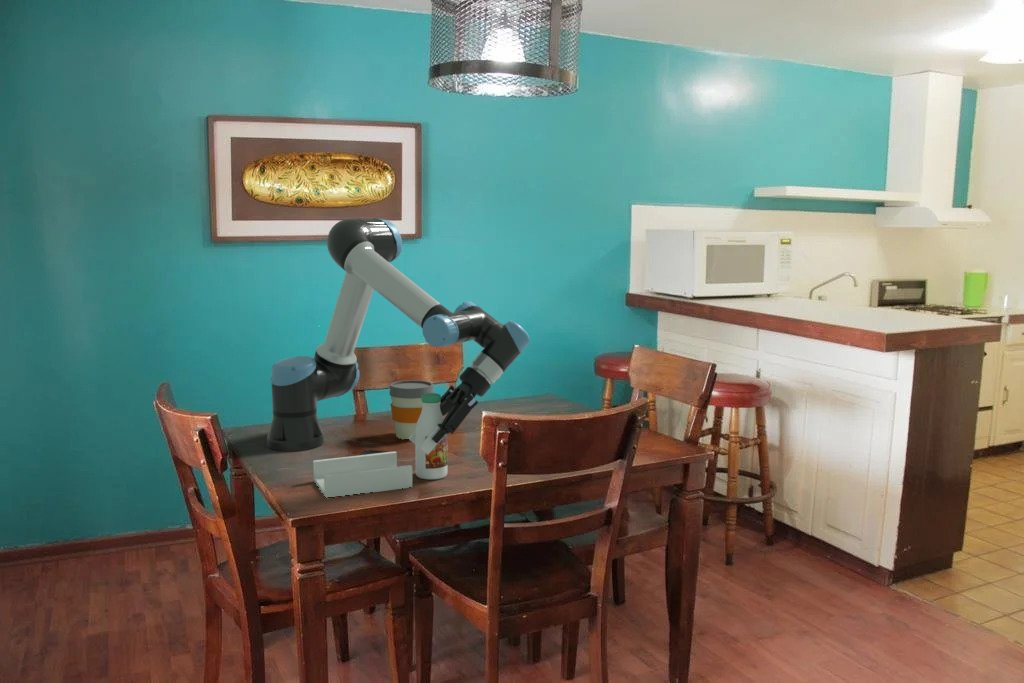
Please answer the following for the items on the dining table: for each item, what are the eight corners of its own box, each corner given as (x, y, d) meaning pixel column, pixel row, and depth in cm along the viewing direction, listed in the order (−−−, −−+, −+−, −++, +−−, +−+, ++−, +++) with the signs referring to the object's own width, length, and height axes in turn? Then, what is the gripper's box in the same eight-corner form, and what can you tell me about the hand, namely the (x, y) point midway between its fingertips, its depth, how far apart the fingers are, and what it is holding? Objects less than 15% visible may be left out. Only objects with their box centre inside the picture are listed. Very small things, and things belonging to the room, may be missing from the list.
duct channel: (313, 481, 194) (313, 460, 193) (395, 471, 202) (395, 451, 202) (325, 498, 182) (325, 476, 181) (412, 487, 190) (412, 466, 190)
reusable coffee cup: (388, 441, 229) (388, 389, 226) (391, 430, 241) (390, 380, 239) (434, 441, 230) (433, 388, 228) (434, 429, 242) (433, 379, 240)
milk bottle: (413, 480, 196) (412, 397, 193) (418, 470, 203) (417, 391, 200) (445, 480, 195) (445, 398, 192) (449, 471, 203) (449, 391, 200)
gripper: (507, 393, 193) (442, 467, 189) (474, 378, 212) (415, 445, 207) (486, 372, 190) (420, 447, 186) (455, 358, 209) (394, 427, 204)
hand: (417, 446), depth 197 cm, fingers closed on milk bottle, 7 cm apart
